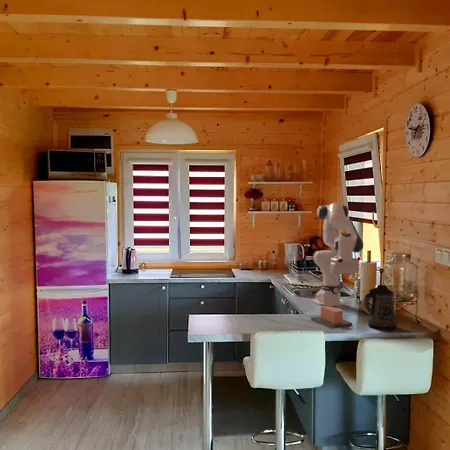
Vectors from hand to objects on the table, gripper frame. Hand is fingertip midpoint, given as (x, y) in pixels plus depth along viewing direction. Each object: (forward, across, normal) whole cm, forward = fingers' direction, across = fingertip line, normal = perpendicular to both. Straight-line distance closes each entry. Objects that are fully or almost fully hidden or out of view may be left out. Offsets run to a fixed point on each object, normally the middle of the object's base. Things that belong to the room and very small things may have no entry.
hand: (344, 280), depth 295 cm
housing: (+22, +13, +6) cm, 27 cm away
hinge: (+25, -25, -5) cm, 36 cm away
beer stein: (+24, -8, +26) cm, 36 cm away
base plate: (+24, +13, +6) cm, 28 cm away
